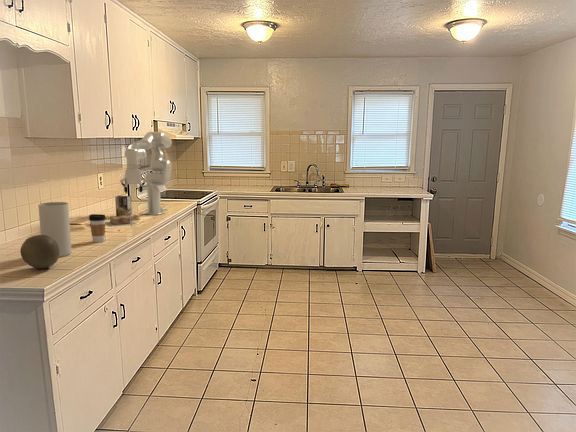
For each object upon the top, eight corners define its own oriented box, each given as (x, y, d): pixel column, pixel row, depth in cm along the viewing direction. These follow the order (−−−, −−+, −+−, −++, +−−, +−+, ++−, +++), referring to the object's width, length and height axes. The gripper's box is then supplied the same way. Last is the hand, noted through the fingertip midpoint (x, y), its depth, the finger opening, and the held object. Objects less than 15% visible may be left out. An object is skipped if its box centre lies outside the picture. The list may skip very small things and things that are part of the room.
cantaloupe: (34, 264, 188) (31, 231, 185) (66, 264, 189) (64, 232, 186) (15, 273, 174) (12, 238, 172) (50, 274, 175) (47, 239, 172)
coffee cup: (90, 240, 234) (89, 213, 231) (106, 239, 237) (105, 213, 235) (90, 243, 226) (88, 216, 224) (107, 242, 230) (105, 215, 227)
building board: (129, 221, 287) (129, 219, 287) (137, 226, 274) (137, 224, 274) (103, 224, 277) (103, 222, 277) (109, 228, 264) (109, 226, 264)
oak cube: (137, 220, 292) (137, 213, 292) (139, 222, 289) (139, 214, 288) (130, 221, 290) (129, 214, 289) (132, 222, 286) (132, 215, 285)
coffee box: (132, 218, 302) (131, 195, 299) (128, 219, 295) (127, 197, 293) (120, 217, 303) (119, 195, 300) (115, 219, 296) (114, 196, 293)
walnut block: (125, 221, 282) (125, 215, 282) (130, 223, 274) (129, 217, 274) (110, 222, 276) (109, 216, 276) (114, 225, 268) (113, 219, 268)
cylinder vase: (64, 249, 213) (61, 201, 208) (76, 254, 205) (72, 204, 201) (38, 254, 203) (34, 203, 199) (48, 259, 195) (44, 206, 191)
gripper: (143, 167, 290) (144, 191, 293) (117, 167, 280) (118, 192, 283) (147, 167, 284) (148, 192, 287) (121, 167, 274) (121, 193, 277)
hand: (133, 192), depth 285 cm, fingers open, 9 cm apart
